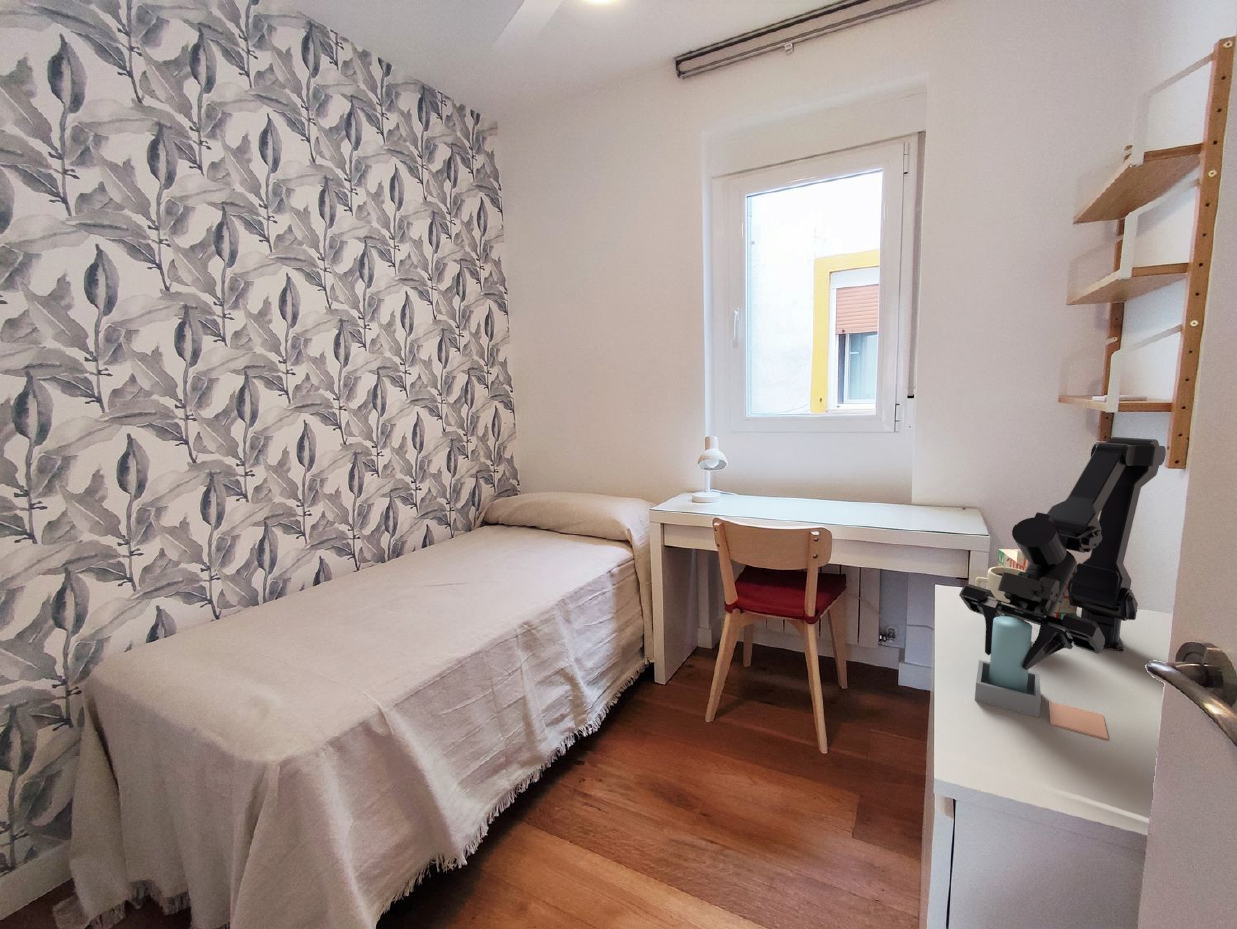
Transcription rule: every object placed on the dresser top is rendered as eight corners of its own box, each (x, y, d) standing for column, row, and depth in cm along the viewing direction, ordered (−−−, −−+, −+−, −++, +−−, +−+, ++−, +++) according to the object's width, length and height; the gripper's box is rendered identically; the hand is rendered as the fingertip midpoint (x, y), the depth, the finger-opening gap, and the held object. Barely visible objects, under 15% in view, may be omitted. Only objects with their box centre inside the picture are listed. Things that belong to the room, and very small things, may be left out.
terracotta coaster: (1048, 704, 85) (1048, 700, 85) (1102, 718, 82) (1102, 714, 81) (1050, 726, 80) (1050, 722, 80) (1107, 742, 76) (1108, 738, 76)
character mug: (1038, 633, 107) (1043, 571, 105) (1040, 649, 101) (1046, 583, 99) (972, 621, 113) (976, 562, 111) (971, 635, 108) (975, 573, 105)
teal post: (988, 683, 91) (994, 613, 89) (1025, 692, 88) (1032, 620, 86) (987, 697, 87) (992, 625, 85) (1025, 708, 84) (1032, 633, 82)
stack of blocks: (995, 585, 131) (999, 536, 129) (1025, 586, 129) (1029, 537, 127) (1040, 625, 110) (1045, 568, 108) (1076, 627, 109) (1082, 569, 107)
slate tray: (977, 677, 93) (979, 659, 93) (1037, 692, 88) (1039, 673, 88) (974, 702, 87) (975, 682, 86) (1038, 719, 82) (1040, 699, 81)
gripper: (968, 539, 94) (927, 615, 90) (1105, 570, 77) (1062, 664, 74) (989, 572, 99) (951, 645, 95) (1121, 608, 83) (1082, 697, 79)
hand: (1005, 660), depth 86 cm, fingers closed on teal post, 5 cm apart
